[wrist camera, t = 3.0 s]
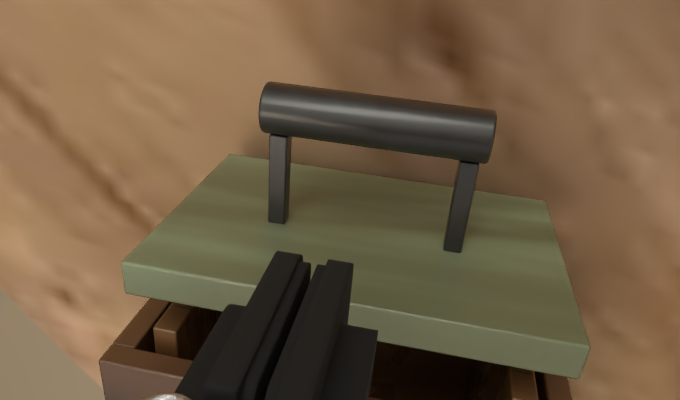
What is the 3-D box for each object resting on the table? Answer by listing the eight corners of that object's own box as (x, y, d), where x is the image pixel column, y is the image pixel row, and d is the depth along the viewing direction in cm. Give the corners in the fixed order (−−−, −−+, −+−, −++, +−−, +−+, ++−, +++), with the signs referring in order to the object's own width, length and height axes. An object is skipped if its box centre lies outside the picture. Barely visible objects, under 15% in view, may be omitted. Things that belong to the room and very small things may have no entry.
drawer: (227, 40, 22) (99, 104, 14) (578, 82, 20) (654, 182, 12) (234, 406, 31) (159, 565, 23) (474, 457, 29) (479, 649, 21)
